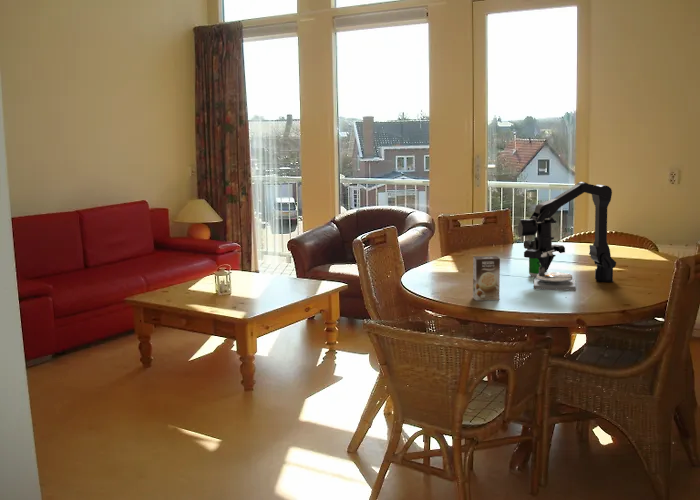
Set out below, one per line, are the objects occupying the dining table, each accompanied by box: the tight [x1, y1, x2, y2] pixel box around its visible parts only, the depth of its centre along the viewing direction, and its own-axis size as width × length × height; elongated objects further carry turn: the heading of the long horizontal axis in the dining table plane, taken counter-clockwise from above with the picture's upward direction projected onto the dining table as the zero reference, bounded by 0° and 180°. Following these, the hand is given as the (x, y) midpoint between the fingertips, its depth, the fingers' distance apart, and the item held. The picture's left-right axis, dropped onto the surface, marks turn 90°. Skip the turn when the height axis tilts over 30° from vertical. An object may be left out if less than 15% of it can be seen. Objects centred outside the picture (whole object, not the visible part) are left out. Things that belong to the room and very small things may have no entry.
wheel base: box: [533, 277, 576, 291], centre depth 303 cm, size 16×15×3 cm
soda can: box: [528, 258, 542, 278], centre depth 322 cm, size 8×8×12 cm
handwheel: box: [536, 267, 573, 282], centre depth 302 cm, size 14×14×5 cm
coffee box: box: [472, 255, 501, 301], centre depth 283 cm, size 9×6×16 cm
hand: (545, 272), depth 305 cm, fingers closed
